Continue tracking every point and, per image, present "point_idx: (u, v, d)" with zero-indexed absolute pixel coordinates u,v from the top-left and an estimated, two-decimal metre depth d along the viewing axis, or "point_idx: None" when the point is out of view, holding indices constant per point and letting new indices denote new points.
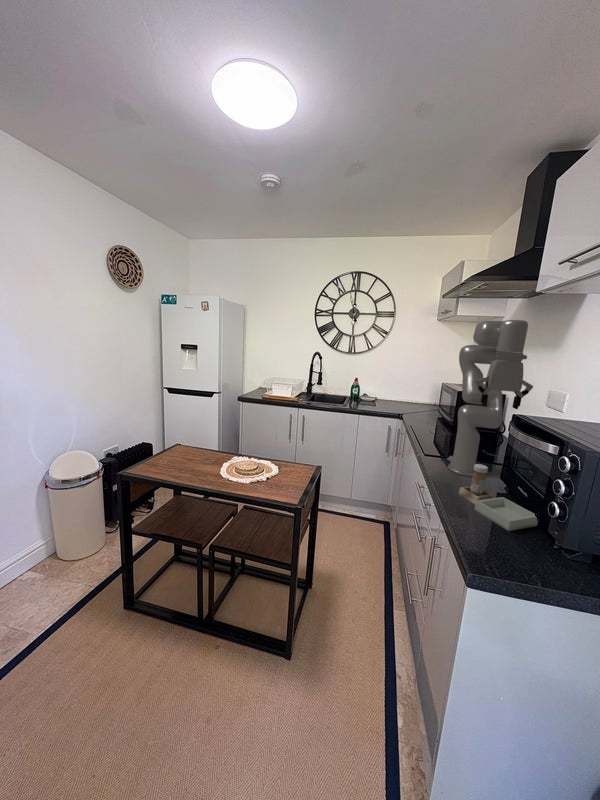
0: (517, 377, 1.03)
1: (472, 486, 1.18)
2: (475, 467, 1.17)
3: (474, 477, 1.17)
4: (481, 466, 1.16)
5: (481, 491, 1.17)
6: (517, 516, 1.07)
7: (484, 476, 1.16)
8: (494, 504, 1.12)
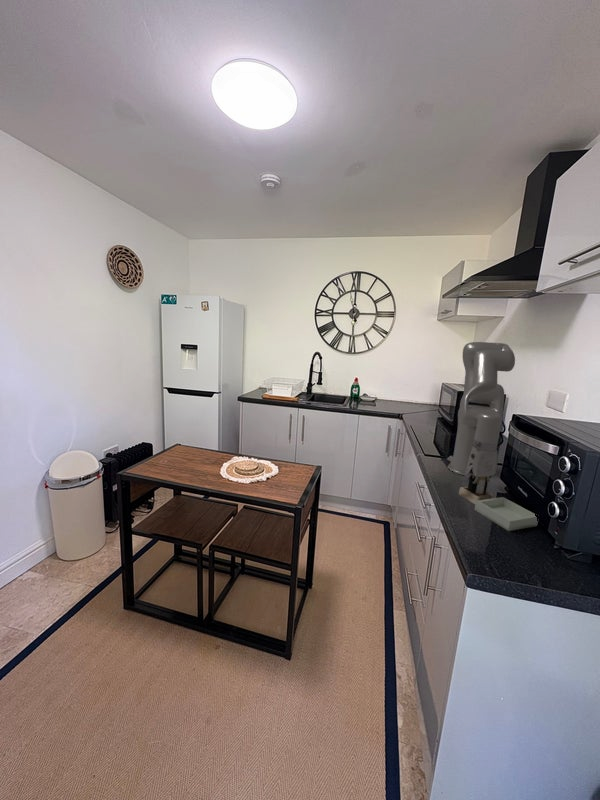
0: None
1: None
2: None
3: None
4: None
5: (481, 491, 1.17)
6: (517, 516, 1.07)
7: None
8: (494, 504, 1.12)
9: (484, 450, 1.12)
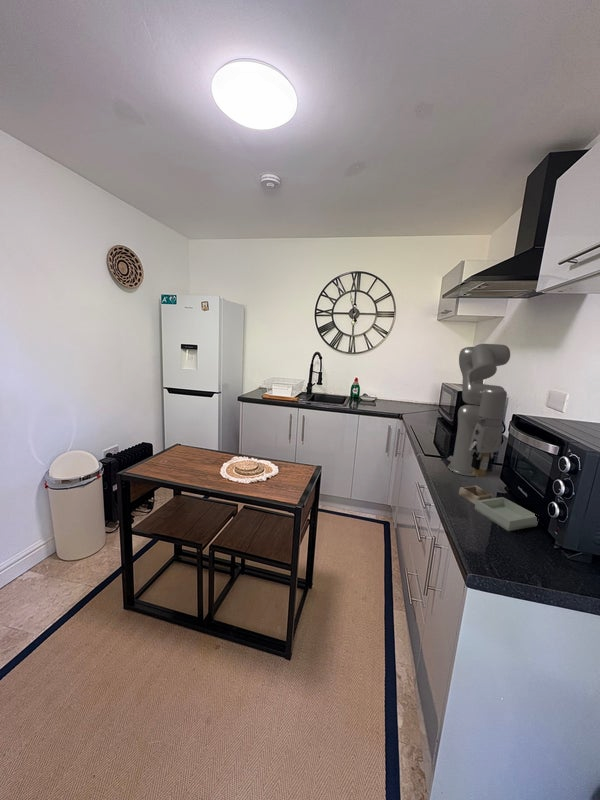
0: None
1: None
2: None
3: None
4: None
5: (485, 467, 1.16)
6: (517, 516, 1.07)
7: None
8: (494, 504, 1.12)
9: (488, 426, 1.11)
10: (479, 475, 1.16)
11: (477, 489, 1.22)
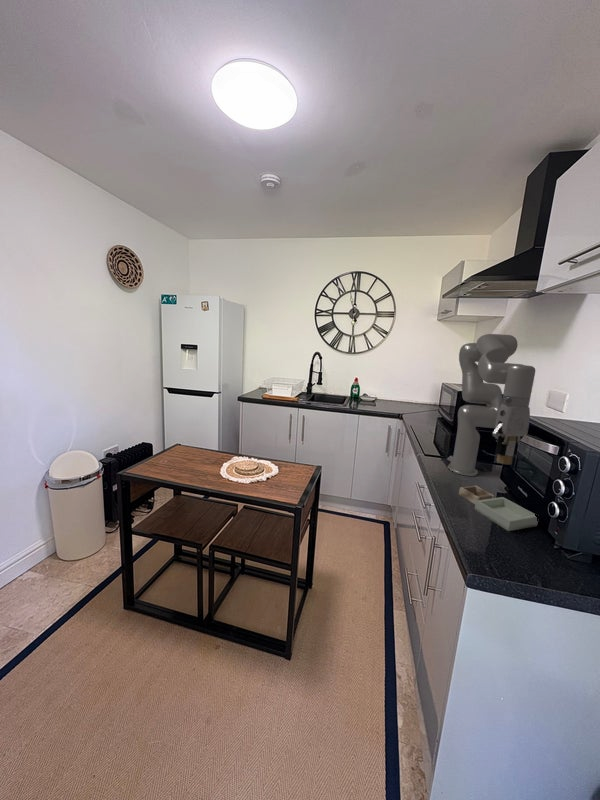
0: None
1: None
2: None
3: None
4: None
5: (511, 453, 1.04)
6: (517, 516, 1.07)
7: (515, 436, 1.03)
8: (494, 504, 1.12)
9: (515, 405, 1.00)
10: (505, 462, 1.05)
11: (477, 489, 1.22)
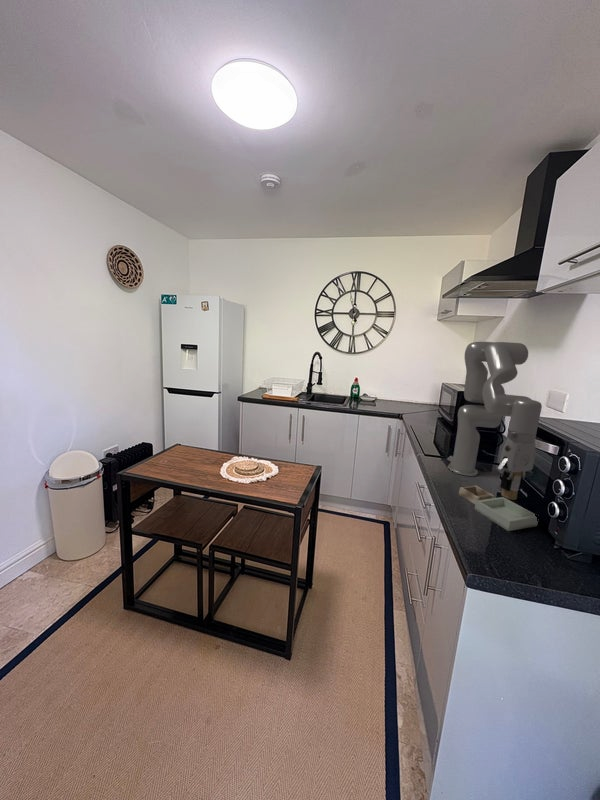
0: None
1: None
2: None
3: (508, 472, 1.03)
4: None
5: (516, 488, 1.03)
6: (517, 516, 1.07)
7: None
8: (494, 504, 1.12)
9: (521, 441, 0.98)
10: (510, 497, 1.03)
11: (477, 489, 1.22)
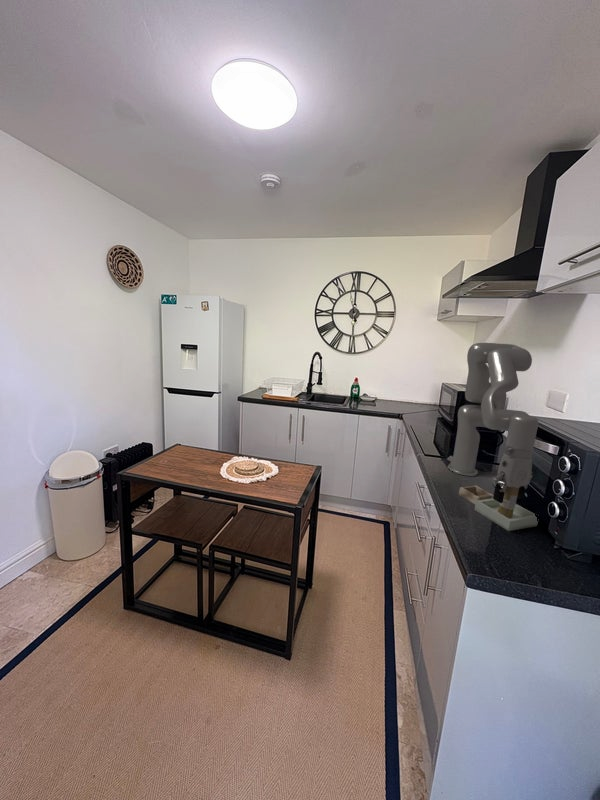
0: None
1: None
2: None
3: (505, 491, 1.05)
4: None
5: (512, 507, 1.04)
6: (517, 516, 1.07)
7: (516, 491, 1.03)
8: (494, 504, 1.12)
9: (518, 457, 0.99)
10: (505, 515, 1.05)
11: (477, 489, 1.22)
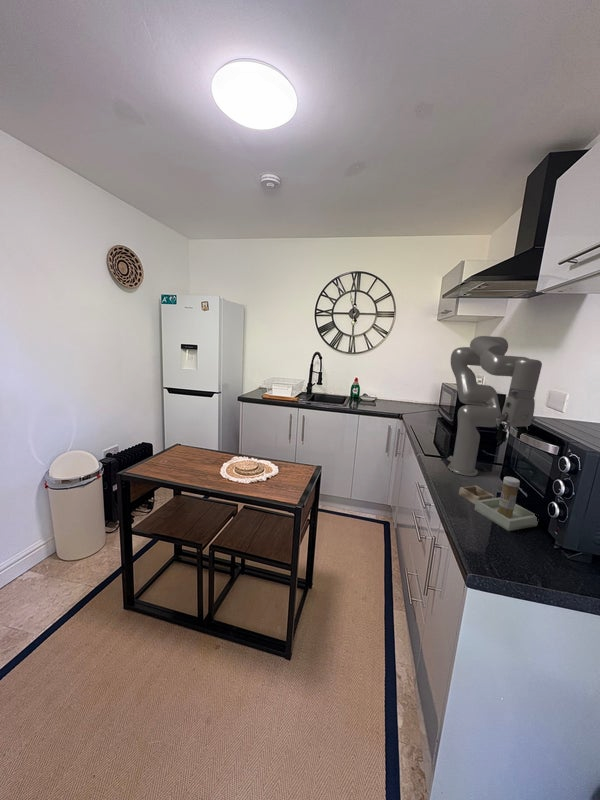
0: None
1: (501, 501, 1.06)
2: (505, 480, 1.04)
3: (504, 491, 1.05)
4: (512, 479, 1.04)
5: (512, 507, 1.04)
6: (517, 516, 1.07)
7: (516, 490, 1.03)
8: (494, 504, 1.12)
9: (521, 398, 1.06)
10: (505, 515, 1.05)
11: (477, 489, 1.22)
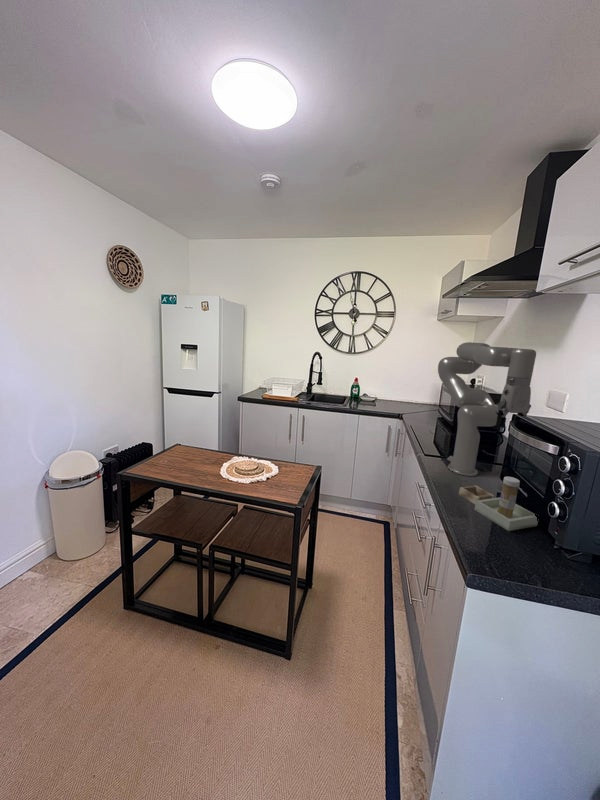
0: None
1: (501, 501, 1.06)
2: (505, 480, 1.04)
3: (504, 491, 1.05)
4: (512, 479, 1.04)
5: (512, 507, 1.04)
6: (517, 516, 1.07)
7: (516, 490, 1.03)
8: (494, 504, 1.12)
9: (518, 385, 1.12)
10: (505, 515, 1.05)
11: (477, 489, 1.22)
